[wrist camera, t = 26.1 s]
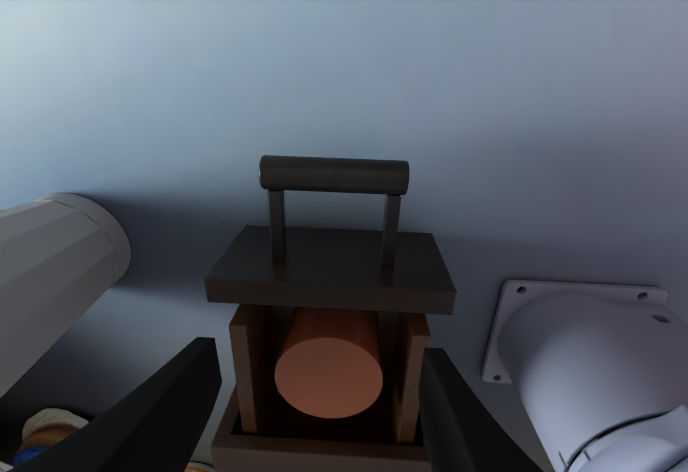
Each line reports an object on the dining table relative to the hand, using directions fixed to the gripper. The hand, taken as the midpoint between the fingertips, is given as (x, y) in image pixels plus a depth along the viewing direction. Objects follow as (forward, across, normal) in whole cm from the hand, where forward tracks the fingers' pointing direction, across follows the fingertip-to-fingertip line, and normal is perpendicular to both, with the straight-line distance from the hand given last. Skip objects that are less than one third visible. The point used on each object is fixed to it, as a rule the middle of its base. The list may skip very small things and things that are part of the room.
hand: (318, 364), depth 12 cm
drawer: (+9, 0, +3) cm, 9 cm away
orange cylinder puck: (+8, 0, +4) cm, 9 cm away
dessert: (+10, +22, +19) cm, 31 cm away
